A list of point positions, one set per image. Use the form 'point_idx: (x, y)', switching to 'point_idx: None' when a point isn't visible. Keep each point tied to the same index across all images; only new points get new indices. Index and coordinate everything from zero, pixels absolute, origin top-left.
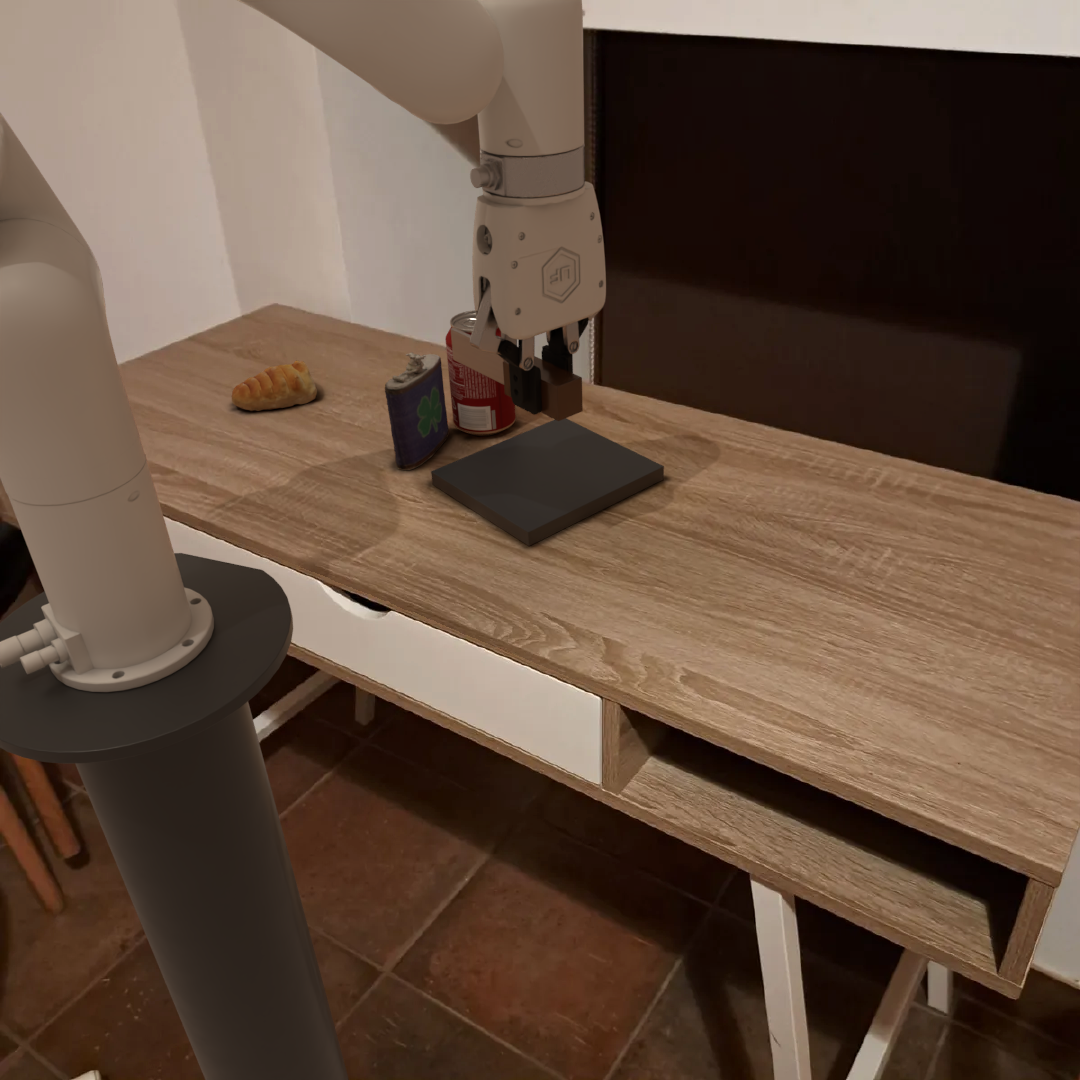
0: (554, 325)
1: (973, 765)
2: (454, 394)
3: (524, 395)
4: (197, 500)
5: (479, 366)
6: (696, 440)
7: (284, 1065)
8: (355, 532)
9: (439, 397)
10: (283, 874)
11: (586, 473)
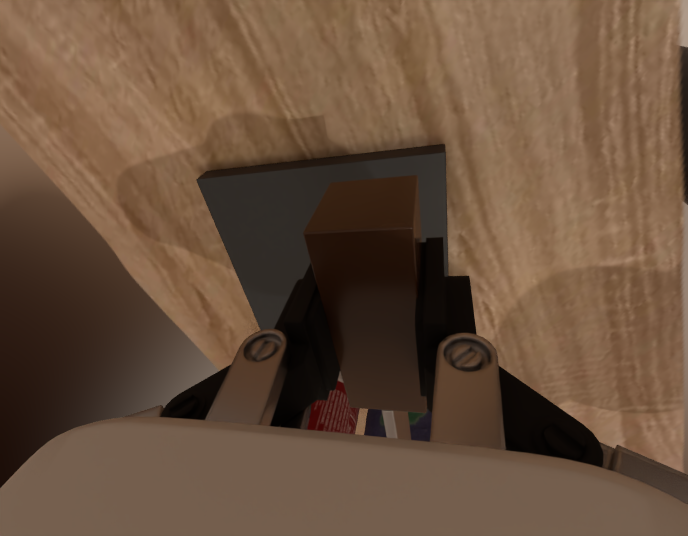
0: (361, 455)
1: None
2: (358, 410)
3: (463, 287)
4: (658, 428)
5: (407, 428)
6: (137, 218)
7: None
8: (590, 299)
9: (380, 415)
10: (684, 91)
11: (294, 225)
